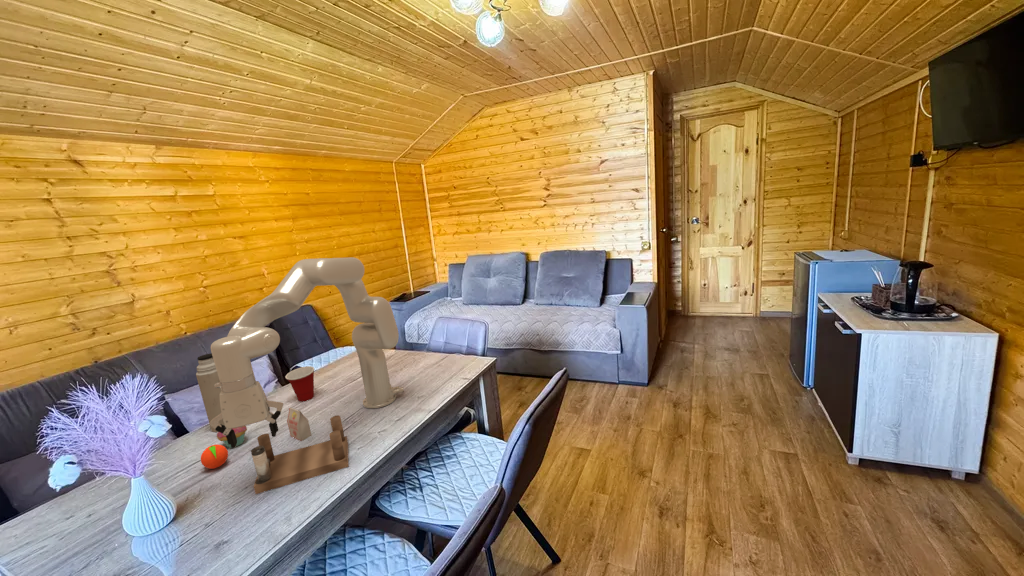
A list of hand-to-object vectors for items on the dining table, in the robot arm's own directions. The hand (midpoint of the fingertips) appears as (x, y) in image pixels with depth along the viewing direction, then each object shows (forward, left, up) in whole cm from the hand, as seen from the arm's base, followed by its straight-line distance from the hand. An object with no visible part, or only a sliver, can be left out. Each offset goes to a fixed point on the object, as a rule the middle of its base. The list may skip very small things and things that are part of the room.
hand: (254, 439), depth 114 cm
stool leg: (0, -3, -12) cm, 12 cm away
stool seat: (-10, -5, -15) cm, 18 cm away
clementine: (+16, -19, -15) cm, 29 cm away
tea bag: (-7, -25, -15) cm, 30 cm away
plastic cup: (-6, -57, -15) cm, 59 cm away
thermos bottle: (+21, -49, -15) cm, 56 cm away
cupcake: (+14, -32, -15) cm, 38 cm away
